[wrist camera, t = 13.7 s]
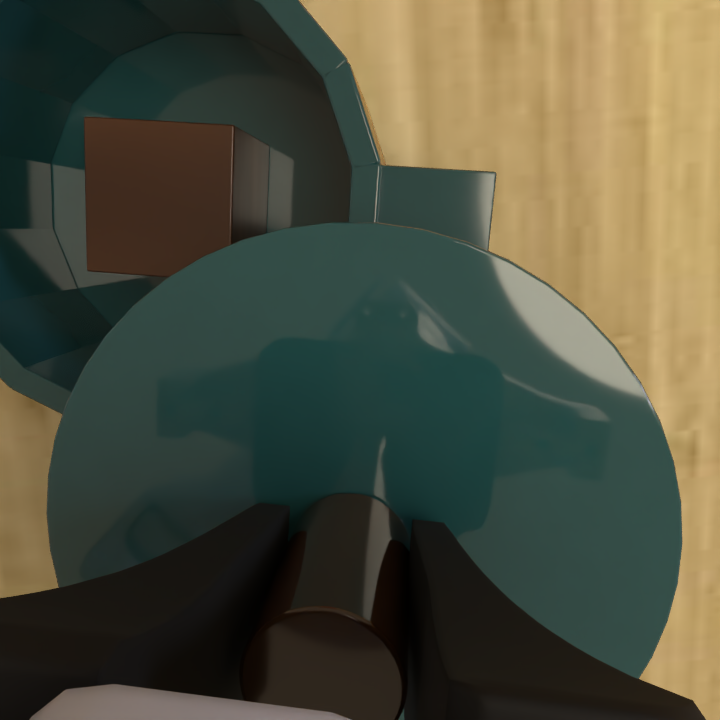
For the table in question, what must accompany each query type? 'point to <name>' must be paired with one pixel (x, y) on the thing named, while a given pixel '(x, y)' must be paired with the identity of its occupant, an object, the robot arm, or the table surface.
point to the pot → (179, 104)
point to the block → (169, 192)
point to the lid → (373, 450)
